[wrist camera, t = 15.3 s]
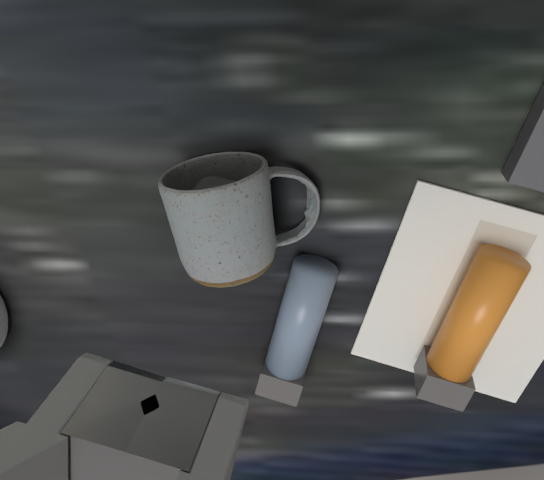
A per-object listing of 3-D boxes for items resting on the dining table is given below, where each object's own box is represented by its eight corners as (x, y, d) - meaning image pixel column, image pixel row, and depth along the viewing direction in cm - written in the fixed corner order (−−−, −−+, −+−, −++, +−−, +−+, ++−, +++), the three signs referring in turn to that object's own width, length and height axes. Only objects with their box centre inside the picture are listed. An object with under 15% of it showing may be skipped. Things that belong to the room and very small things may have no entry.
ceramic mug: (201, 249, 41) (169, 299, 34) (179, 155, 37) (139, 190, 31) (326, 241, 38) (318, 293, 32) (314, 141, 35) (302, 175, 28)
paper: (417, 179, 35) (417, 181, 34) (620, 235, 34) (622, 237, 33) (350, 351, 42) (350, 353, 42) (514, 400, 41) (515, 403, 41)
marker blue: (296, 249, 39) (288, 272, 36) (340, 262, 39) (337, 286, 36) (263, 365, 45) (254, 394, 42) (301, 377, 45) (296, 406, 41)
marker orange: (474, 238, 35) (483, 263, 32) (524, 252, 35) (538, 279, 32) (413, 366, 41) (416, 397, 38) (456, 379, 41) (462, 411, 38)
